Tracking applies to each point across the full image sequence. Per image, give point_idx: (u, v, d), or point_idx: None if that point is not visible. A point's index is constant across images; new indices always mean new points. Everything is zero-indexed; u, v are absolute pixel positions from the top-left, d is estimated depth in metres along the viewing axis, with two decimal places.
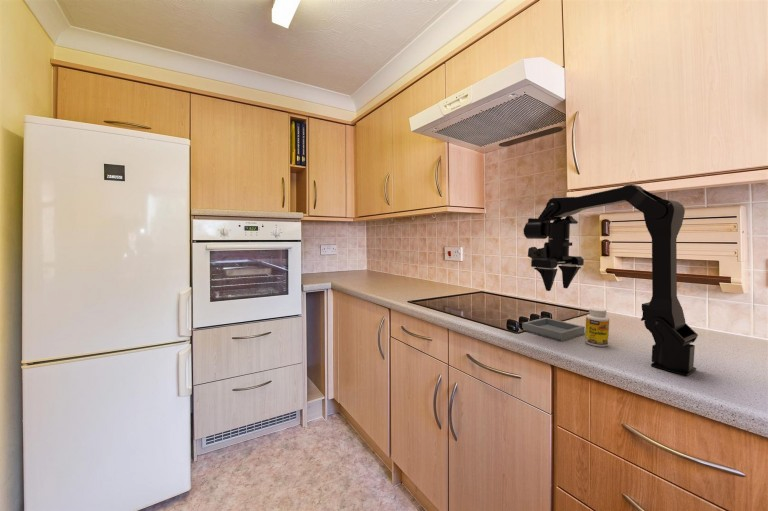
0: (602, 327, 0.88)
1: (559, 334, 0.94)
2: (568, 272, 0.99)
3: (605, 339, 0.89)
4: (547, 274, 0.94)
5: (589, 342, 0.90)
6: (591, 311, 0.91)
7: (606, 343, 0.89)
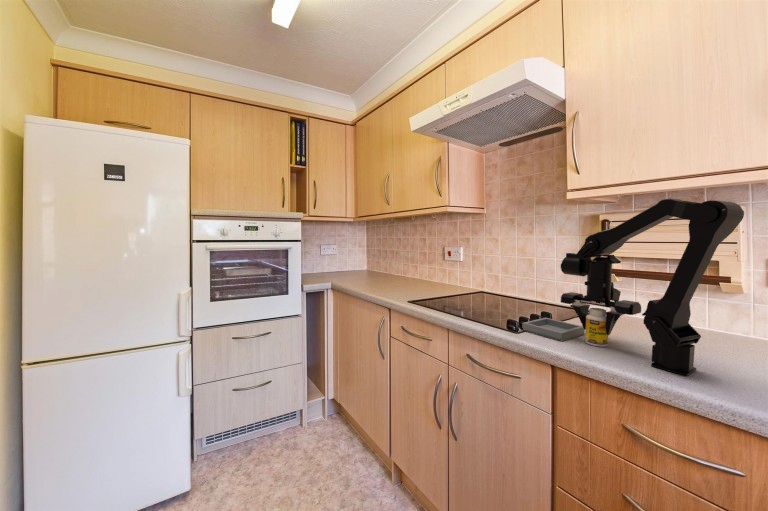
0: (602, 327, 0.88)
1: (559, 334, 0.94)
2: None
3: (605, 339, 0.89)
4: None
5: (589, 342, 0.90)
6: (591, 311, 0.91)
7: (606, 343, 0.89)
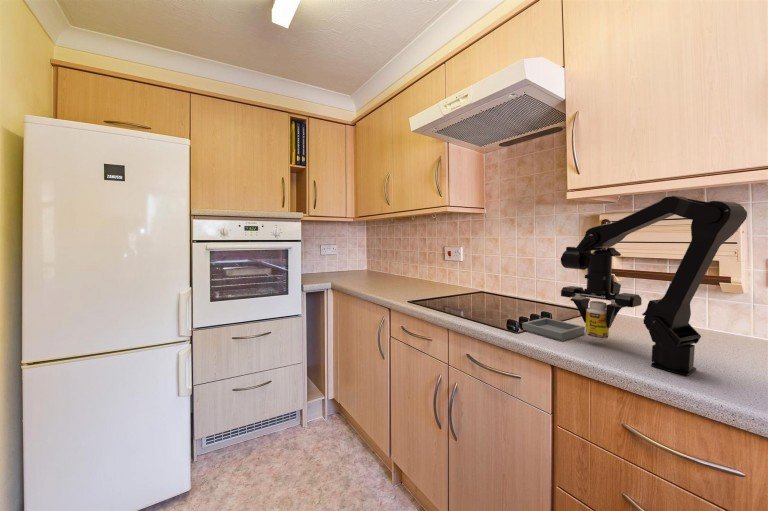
0: (603, 320, 0.88)
1: (559, 334, 0.94)
2: None
3: (605, 332, 0.88)
4: None
5: (589, 335, 0.90)
6: (591, 304, 0.90)
7: (606, 336, 0.89)
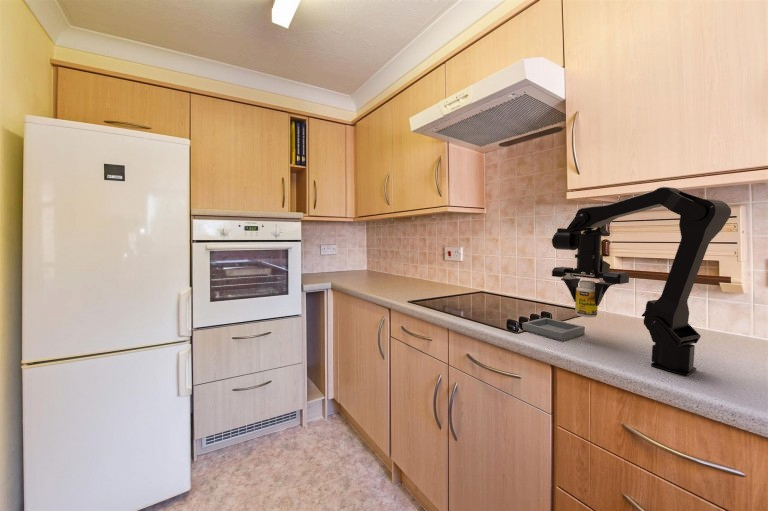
0: (592, 298, 0.90)
1: (559, 334, 0.94)
2: None
3: (594, 309, 0.91)
4: None
5: (579, 313, 0.93)
6: (581, 283, 0.93)
7: (595, 314, 0.91)
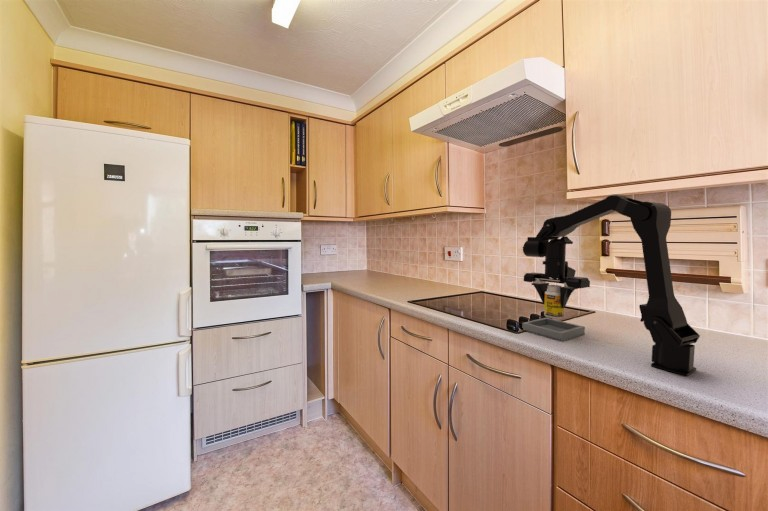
0: (557, 301, 0.99)
1: (559, 334, 0.94)
2: None
3: (560, 311, 0.99)
4: None
5: (547, 315, 1.01)
6: (548, 287, 1.01)
7: (561, 315, 1.00)
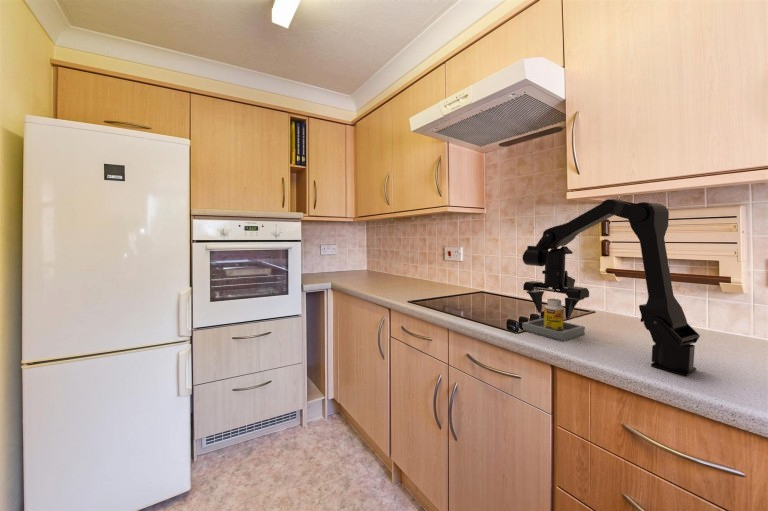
0: (557, 315, 0.99)
1: (559, 334, 0.94)
2: None
3: (560, 326, 1.00)
4: None
5: None
6: (548, 301, 1.02)
7: (561, 330, 1.00)
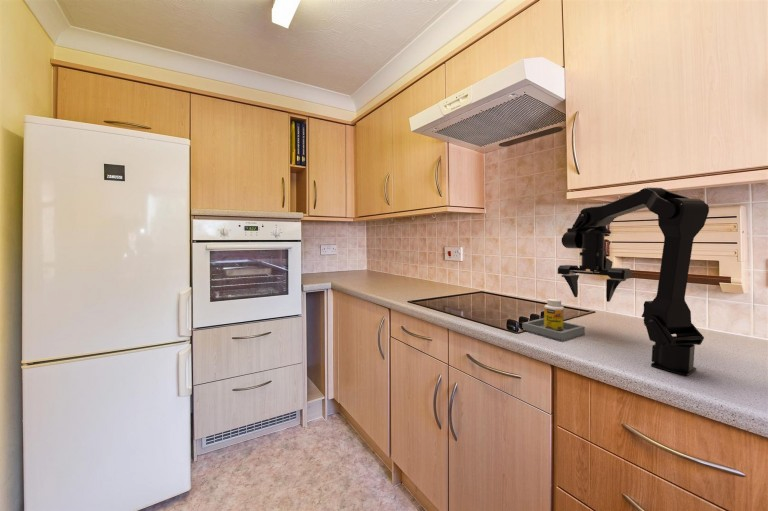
0: (557, 315, 0.99)
1: (559, 334, 0.94)
2: None
3: (560, 326, 1.00)
4: None
5: None
6: (548, 301, 1.02)
7: (561, 330, 1.00)
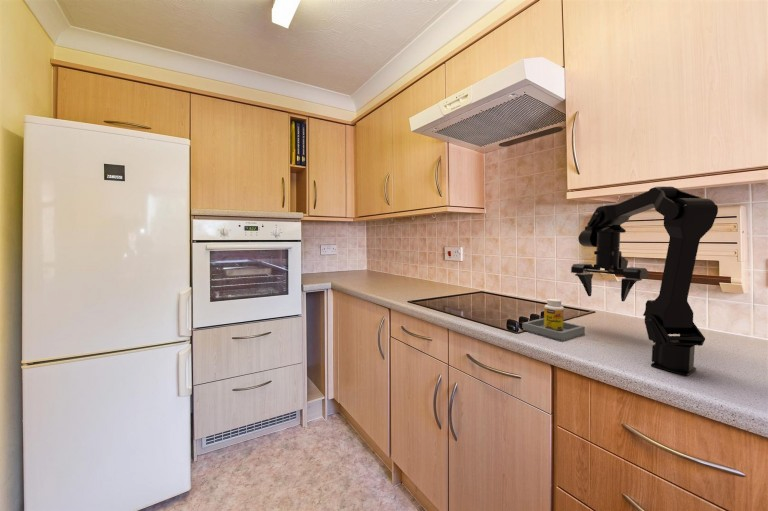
0: (557, 315, 0.99)
1: (559, 334, 0.94)
2: None
3: (560, 326, 1.00)
4: None
5: None
6: (548, 301, 1.01)
7: (561, 330, 1.00)
